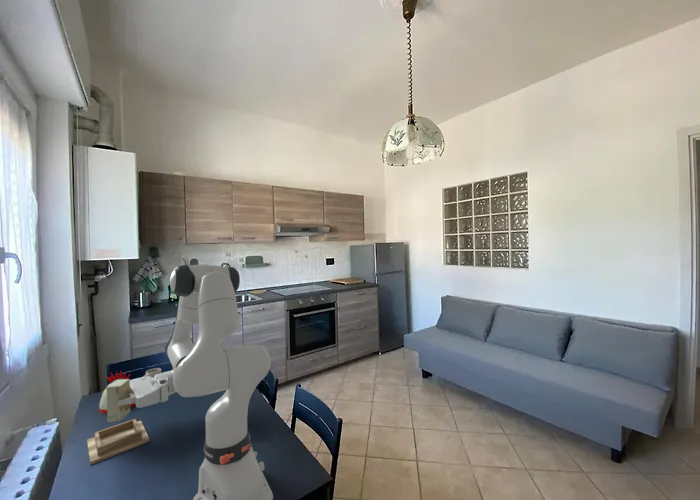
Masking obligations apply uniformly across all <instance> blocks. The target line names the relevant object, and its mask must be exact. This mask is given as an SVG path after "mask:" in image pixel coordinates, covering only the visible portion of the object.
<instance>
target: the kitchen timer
mask: <svg viewBox="0 0 700 500" xmlns="http://www.w3.org/2000/svg"><path fill="white" fill-rule="evenodd" d="M126 374H127V372H124V374H123V372H122V370H120V372H119V374H118V371H116V372H115V376H114V374H113V373H112V372H111V373H110V377H109V376H106V379H107V381H108V382H109V384H108V385H107V386H106V388H105V389H104V390H103V391H102V393H101V394H102V395H101V398H100V401H99V407H98V410H99V413H101V414H105V415H106V414H107V387H108V386H110V385H111V384H112V383H114V382H115V381H116V380H123V379H130V376H131V374H130V373H129V374H128V376H126ZM130 397H131V394H130ZM134 406H136V405H135V403H133V404H130V408H133V407H134Z"/></svg>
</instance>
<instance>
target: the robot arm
mask: <svg viewBox="0 0 700 500" xmlns="http://www.w3.org/2000/svg"><path fill="white" fill-rule="evenodd" d="M240 283H241V282H240V273H239V271H238V269H236V267H232V266H229V265H226V266H222V265H221V266H220V265H214V264H212V265H211V264H190V265H188V264H183V265H178V266H175V268H174V269H173V270H172V272H171V274H170V277H169V286H170V289H171V292H172V293H173V294H174V295H175V296H177V297H179V299H178V300H179V301H178V306H177V307H178V308H177V315H176V318H175V322H174V327H173V330H172V334H171V336H170V338H169V340H167V342H166V344H165V347H164V352H165V354H166V356H167V357H168V359H169V362H170V364H171V366H173V367H172V369H171V370H168V371H163V372H161V373H160V374H156V375H154V378H152V377H150V376H146V377H143V376H141V377H137V378H133V379H130V394H131V397H130V398H125V399H124V398H121V399H118V400H117V404H118V406H121V405H125V404H133V403H135V405H134V406H135V407H136V408H137V409H140V408H146V407H149V406H152V405H155V404H158V403H165V402H167V401H168V400H169V396H171V395H174V394H175V393H177V394H178V395H179V396H181V398H196V397H204V396H207V395H211V394H215V393H219V392H222V391H223V392H224V391H225V392H224V393H223V394H222V395H221V396H220V398H218V399H217V400H216V401H214V402H213V403H212V404H211V405H210V407H209V408H208V410H207V412H206V414H205V417H204V419H205V420H204V421H205V439H204V443H203V451H204V452H203V453H204V459H203V461H202V463H201V465H200V467H199V470H198V490H197V491H198V492H197V493H196V494H195V495H194V497H193V499H192V500H273V499H274V494H273V492H272V490H271V487H270V485H269V483H268V482H267V479H266V476H265V475H264V472H263V471H265V462H264V461H259V462H258V460H257V457H258V452H257V451H254V449H253V446H252V441H251V435H250V432H249V429H248V412H249V410H248V409H249V404H250V401H251V398H252V395H253V393H254V391H255V390H256V388H257V387H258V385H259V384H260V383H261V382H262V380H263V379H265V377H267V375H268V373H269V372H270V369H271V363H272V359H271V356H270V353H269V351H268V349H267V347H265V346H263V345H262V344H246V345H245V344H244V345H240V346H235V347H234V346H233V347H231V348H226V349H225V348H224V349H223V348H221V344H222V342H224V341H225V340H226V339H227V338H230V337H231V336H232V335H233V334H234V333H236V332H237V330H238V329H239V326H240V317H239V310H238V303H237V302H238V301H237V297H236V292H237V291H238V290H239V288H240ZM194 324H198V335H197V339H196V341H195V344H194V343H193V341H192V338H191V332H192V331H191V330H192V327H193V325H194Z"/></svg>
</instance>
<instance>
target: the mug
mask: <svg viewBox="0 0 700 500" xmlns="http://www.w3.org/2000/svg"><path fill="white" fill-rule="evenodd" d="M160 373H162V368H161V367H155V368H151V369H148V370H146V371H145V374H144V375H143V376H142V377H146V376H150V377H152V378H154V375H156V374H160Z"/></svg>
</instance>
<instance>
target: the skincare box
mask: <svg viewBox="0 0 700 500" xmlns="http://www.w3.org/2000/svg"><path fill="white" fill-rule="evenodd" d="M130 380H131V379H130V378H128V379H123V380H116V381H115V382H114V383H112V384H111V385H110V386H108V385H107V386H108V387H107V386H106V388H107V423H112V422H121V421H122V420H123V419H124V418H126V416H127V415H128V414H129V413H131V407H130V404H125V405H121V406H118V404H117V400H118V399H121V398H124V399H125V398H130Z"/></svg>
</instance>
